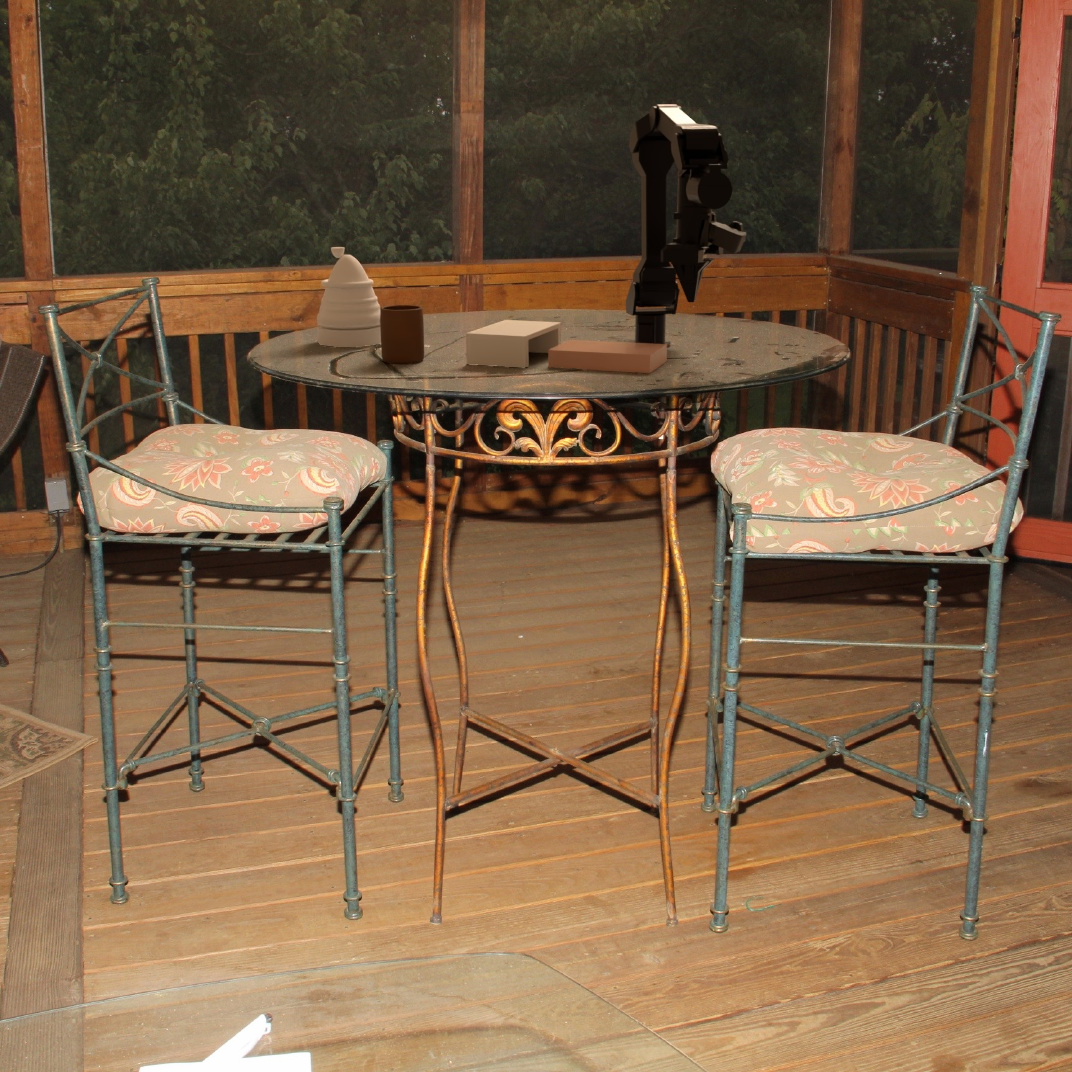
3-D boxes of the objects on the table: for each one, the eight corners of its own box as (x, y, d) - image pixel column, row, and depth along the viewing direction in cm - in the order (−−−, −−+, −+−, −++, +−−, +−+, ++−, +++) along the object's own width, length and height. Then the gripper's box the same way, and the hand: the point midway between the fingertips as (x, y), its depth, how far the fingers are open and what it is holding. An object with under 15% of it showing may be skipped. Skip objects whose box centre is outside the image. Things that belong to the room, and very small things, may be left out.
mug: (379, 354, 232) (376, 302, 230) (420, 352, 234) (418, 301, 231) (383, 365, 221) (380, 310, 218) (426, 363, 222) (424, 309, 220)
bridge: (505, 349, 237) (505, 319, 235) (561, 352, 233) (561, 322, 232) (466, 364, 221) (466, 333, 219) (525, 368, 217) (525, 336, 216)
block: (569, 359, 230) (569, 339, 228) (666, 363, 224) (667, 344, 223) (548, 370, 219) (548, 349, 218) (650, 375, 213) (650, 354, 212)
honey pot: (306, 346, 242) (300, 249, 237) (336, 336, 254) (331, 244, 248) (368, 349, 238) (363, 251, 233) (395, 339, 250) (391, 245, 245)
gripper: (730, 210, 197) (726, 311, 202) (754, 204, 214) (750, 297, 218) (661, 208, 201) (658, 308, 206) (690, 203, 218) (687, 295, 222)
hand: (691, 302), depth 213 cm, fingers closed
